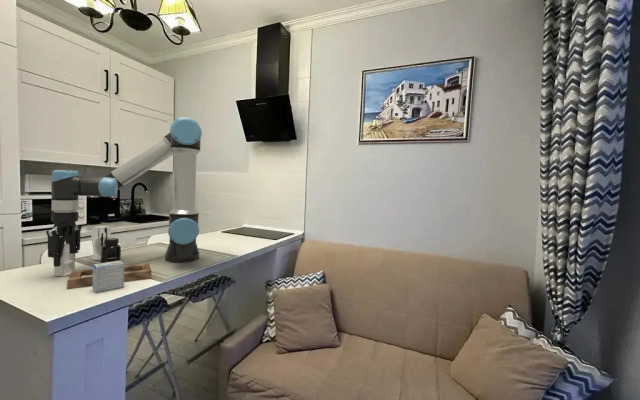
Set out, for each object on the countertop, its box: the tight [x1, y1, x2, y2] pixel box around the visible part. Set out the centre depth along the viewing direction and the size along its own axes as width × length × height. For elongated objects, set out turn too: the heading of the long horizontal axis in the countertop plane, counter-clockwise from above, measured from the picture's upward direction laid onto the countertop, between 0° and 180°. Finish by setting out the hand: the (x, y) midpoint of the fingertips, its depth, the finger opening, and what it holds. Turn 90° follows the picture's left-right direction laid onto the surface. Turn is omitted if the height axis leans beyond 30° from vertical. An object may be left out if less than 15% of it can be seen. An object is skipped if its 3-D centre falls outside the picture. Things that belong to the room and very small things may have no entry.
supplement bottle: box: [99, 237, 122, 264], centre depth 117 cm, size 7×7×12 cm
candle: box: [54, 242, 73, 277], centre depth 106 cm, size 5×5×12 cm
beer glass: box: [90, 224, 112, 261], centre depth 128 cm, size 7×7×15 cm
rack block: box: [66, 263, 152, 290], centre depth 104 cm, size 24×11×3 cm, turn 125°
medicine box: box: [92, 261, 125, 294], centre depth 95 cm, size 8×4×9 cm, turn 141°
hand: (64, 272), depth 106 cm, fingers closed on candle, 4 cm apart
